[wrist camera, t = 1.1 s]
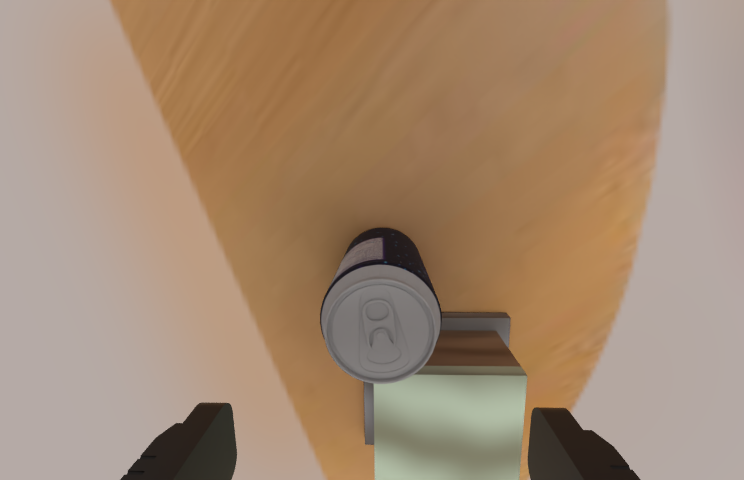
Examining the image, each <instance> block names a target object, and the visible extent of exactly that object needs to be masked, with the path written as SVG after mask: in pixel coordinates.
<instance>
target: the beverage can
mask: <svg viewBox="0 0 744 480" xmlns="http://www.w3.org/2000/svg"><path fill="white" fill-rule="evenodd" d="M320 324H321V330H322V334H323V337H324V339H325V342H326V346H327V348H328V351H329V353H330V355H331V357H332V358H333V360H334V361H335V362H336V364H337V365H338V366H339V367H340V368H341V369H342V370H343V371H345V372H346V373H347V374H349V375H350V376H352V377H354V378H356V379H358V380H361V381H364V382H368V383H374V384H389V383H395V382H398V381H402V380H404V379H406V378H408V377H410V376H412V375H413V374H415V373H416V372H418V371H419V370H420V369H421V368H422V367H423V366H424V365H425V364H426V362H427V361H428V360H429V358H430V356H431V355H432V353H433V350H434V348H435V345H436V343H437V341H438V338H439V335H440V331H441V325H442V314H441V308H440V304H439V301H438V298H437V296H436V294H435V291H434V289H433V286H432V284H431V281H430V279H429V276H428V274H427V271H426V269H425V267H424V264H423V262H422V259H421V257H420V254H419V252H418V250H417V248H416V246H415V244H414V243H413V242H412V241H411V240H410V239H409V238H408V237H407V236H406V235H404V234H403V233H401V232H399V231H397V230H394V229H390V228H375V229H371V230H368V231H366V232H364V233H362V234H360V235H359V236H358V237H356V238H355V239H354V240H353V242H352V243H351V244H350V246H349V247H348V249H347V251H346V253H345V256H344V258H343V260H342V262H341V264H340V266H339V268H338V270H337V272H336V274H335V276H334V279H333V281H332V283H331V285H330V287H329V289H328V291H327V293H326V295H325V297H324V300H323V303H322V307H321V313H320Z"/></svg>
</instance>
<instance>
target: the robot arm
mask: <svg viewBox="0 0 744 480" xmlns="http://www.w3.org/2000/svg"><path fill="white" fill-rule="evenodd" d="M236 459H237V449H236V441H235V430H234V421H233V411H232V407H231V405H230V404H229V403H199V404H198V405H197V406H196V407H195V408H194V410H193V411H192V412H191V413H190V415H189V416H188V417H187V419H186V420H185V421H184V422H183V423H176V424H174V425H173V426H172V427H170V428H169V429H167V430H166V431H165V432H163V433H162V434H160V435H159V436H158V437H156V438H155V440H154V441H153V442H152V443H151V444H150V445H149V446H148V448H147V449H146V450H145V451H144V452H143V454H142V455H141V458H140V459H138V460H137V461H136V462H135V463H134V464H133V465H132V467H131V468H130V469H129V470H128V473H127V475H124V476H123V477H122V478H121V480H231V479H232V476H233V473H234V470H235V465H236ZM528 468H529V474H530V478H531V480H640V479H639V477H638V476H637V475H636V474H635V473H634V471H633V470H630V468H629V465H628V464H627V463H626V462H625V460H624V459H623V458H622V456H621V455H620V454H619V453H618V452H617V450H616V449H615V448H614V447H613V446H612V445H611V444H609V443H608V442H607V441H605V440H604V439H603V438H601V437H600V436H599V435H597V434H596V433H595V432H593V431H592V430H583V429H582V428H581V427H580V425H579V424H578V423H577V421H576V420H575V419H574V417H573V416H572V415H571V413H570V412H569V411H568V410H567V409H566V408H534V409H533V411H532V415H531V426H530V438H529V449H528Z"/></svg>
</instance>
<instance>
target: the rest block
mask: <svg viewBox="0 0 744 480" xmlns="http://www.w3.org/2000/svg"><path fill="white" fill-rule="evenodd" d="M441 314H442V325H441V331H440V335H439V338H438V341H437V343H436V345H435V348H434V350H433V353H432V355H431V356H430V358H429V360H428V361H427V362H426V364H425V365H424V366H423V367H422V368H421V369H420V370H419V371H418V372H416V373H415V374H413V375H412V376H410V377H408V378H406V379H404V380H402V381H398V382H395V383H389V384H374V383H368V382H364V411H365V444H368V445H374V452H375V480H519V475H520V462H521V450H522V437H523V424H524V411H525V399H526V386H527V375H526V373H525V372H524V370H523V369H522V367H521V366H520V364H519V363H518V362H517V360H516V359H515V357H514V356H513V354H512V353H511V351H510V350H509V349H508V348H509V333H510V317H509V316H508V315H507V313H441Z"/></svg>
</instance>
